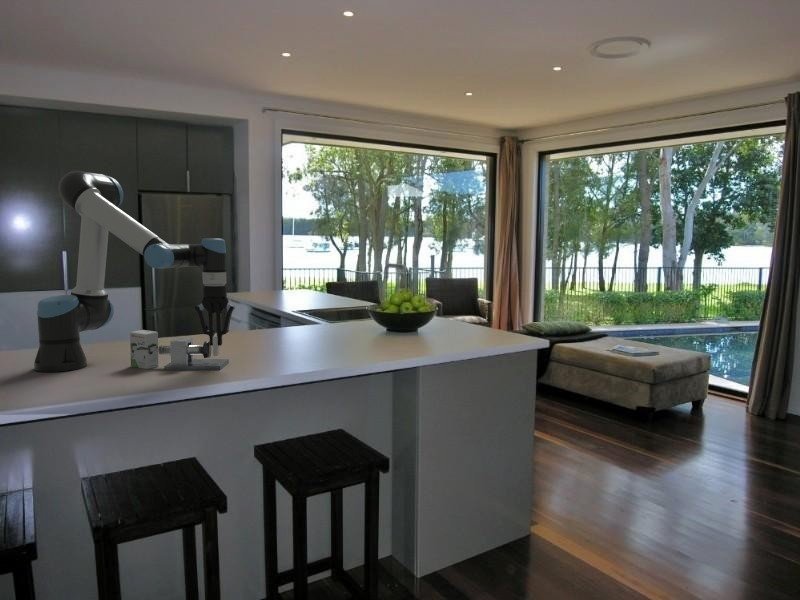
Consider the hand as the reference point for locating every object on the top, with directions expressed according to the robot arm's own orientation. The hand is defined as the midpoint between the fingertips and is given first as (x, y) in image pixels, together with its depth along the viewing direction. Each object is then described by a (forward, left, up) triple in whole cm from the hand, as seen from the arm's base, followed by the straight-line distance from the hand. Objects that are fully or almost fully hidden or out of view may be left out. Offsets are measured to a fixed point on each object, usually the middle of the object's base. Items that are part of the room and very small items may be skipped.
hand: (216, 355), depth 201 cm
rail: (-6, 0, -4) cm, 7 cm away
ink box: (-24, 0, -4) cm, 24 cm away
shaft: (-10, 0, -1) cm, 10 cm away
